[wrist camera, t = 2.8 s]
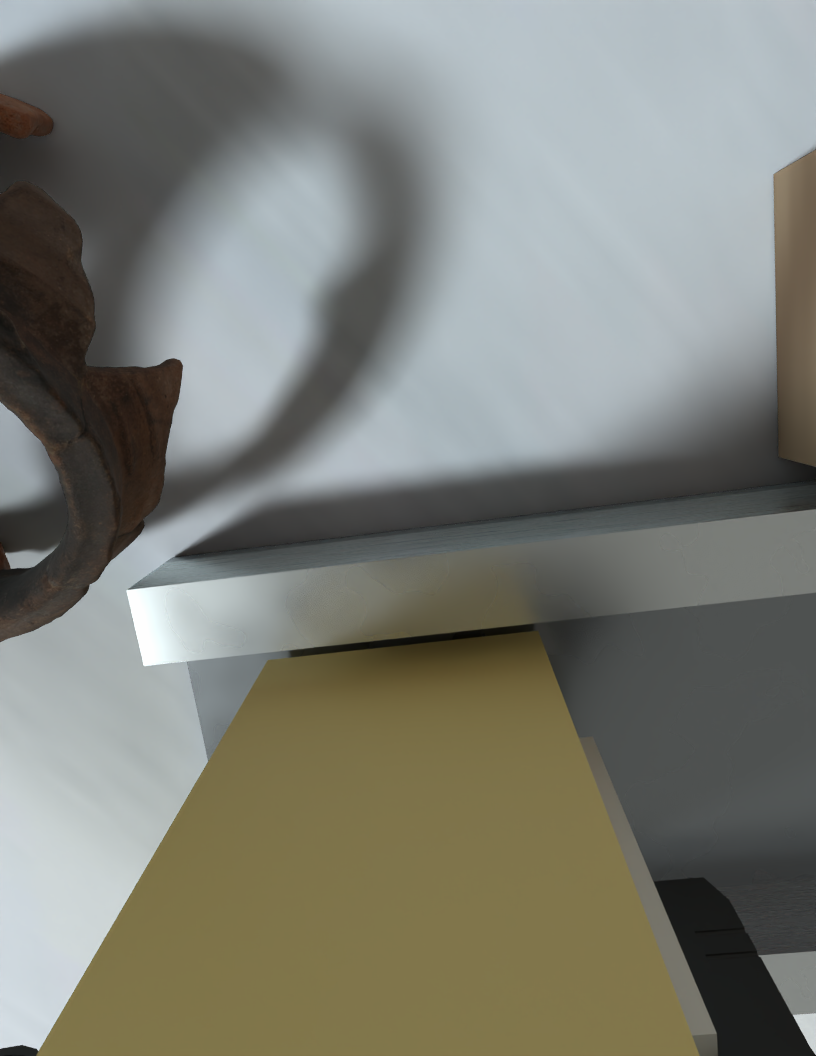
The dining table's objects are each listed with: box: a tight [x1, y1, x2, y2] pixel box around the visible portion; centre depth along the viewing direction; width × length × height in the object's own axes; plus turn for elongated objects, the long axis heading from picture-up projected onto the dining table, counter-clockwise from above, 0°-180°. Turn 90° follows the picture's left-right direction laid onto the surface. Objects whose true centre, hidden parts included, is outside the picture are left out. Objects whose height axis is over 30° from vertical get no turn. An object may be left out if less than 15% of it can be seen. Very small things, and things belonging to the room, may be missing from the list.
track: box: [127, 480, 816, 1015], centre depth 15 cm, size 11×21×2 cm, turn 98°
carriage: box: [36, 631, 700, 1056], centre depth 11 cm, size 7×6×11 cm
